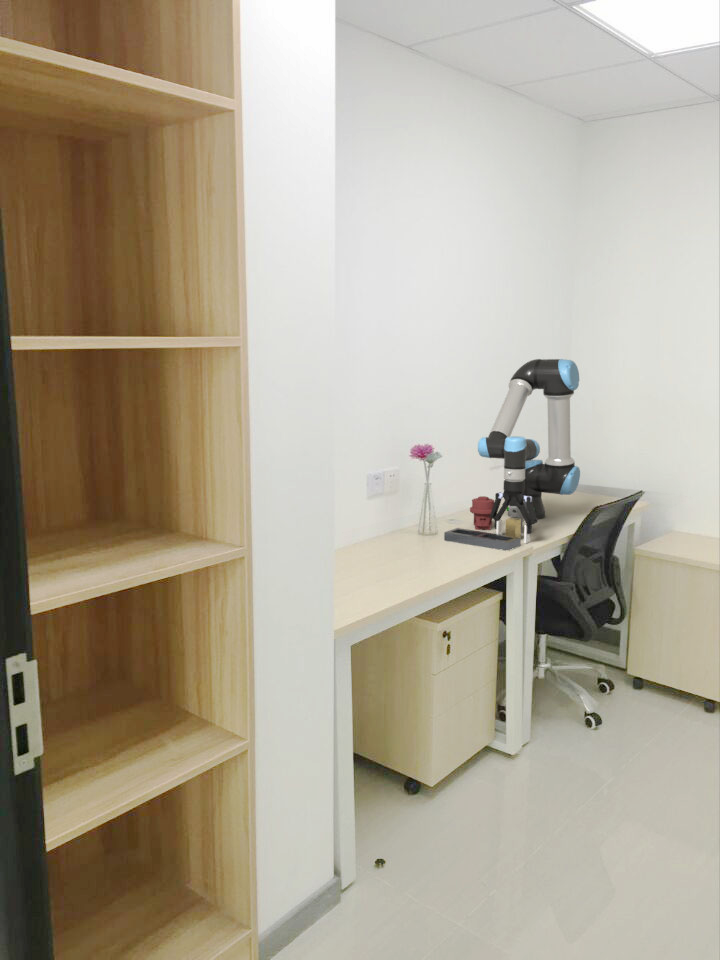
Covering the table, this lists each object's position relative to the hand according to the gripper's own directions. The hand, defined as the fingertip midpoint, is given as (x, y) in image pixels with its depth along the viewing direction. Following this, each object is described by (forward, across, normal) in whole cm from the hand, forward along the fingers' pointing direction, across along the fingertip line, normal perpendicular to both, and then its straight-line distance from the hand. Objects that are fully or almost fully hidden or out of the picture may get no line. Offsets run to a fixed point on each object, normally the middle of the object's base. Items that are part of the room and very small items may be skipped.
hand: (512, 540), depth 303 cm
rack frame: (0, -7, -10) cm, 12 cm away
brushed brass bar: (0, 0, 0) cm, 0 cm away
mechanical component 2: (0, -19, +11) cm, 22 cm away
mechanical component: (0, -4, +13) cm, 14 cm away
